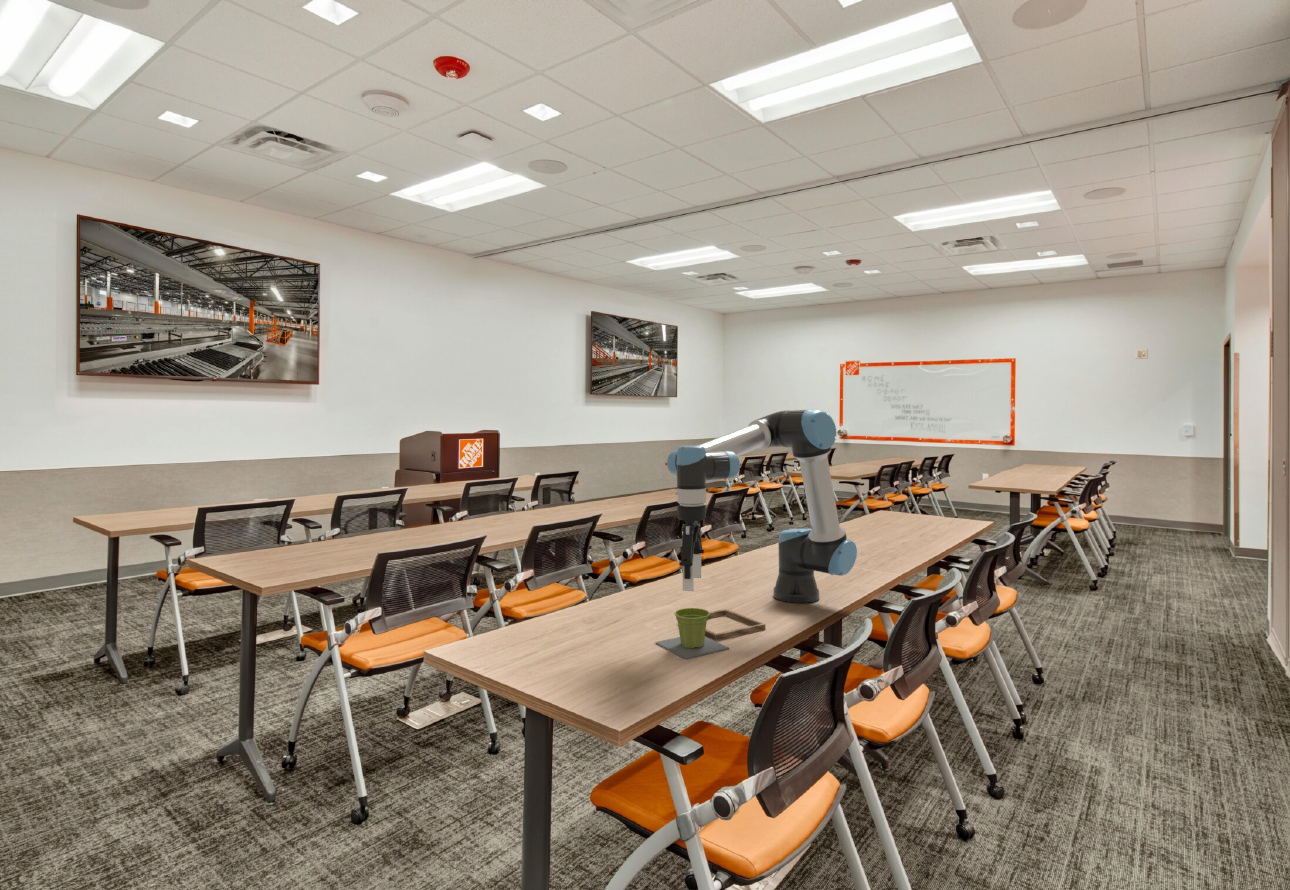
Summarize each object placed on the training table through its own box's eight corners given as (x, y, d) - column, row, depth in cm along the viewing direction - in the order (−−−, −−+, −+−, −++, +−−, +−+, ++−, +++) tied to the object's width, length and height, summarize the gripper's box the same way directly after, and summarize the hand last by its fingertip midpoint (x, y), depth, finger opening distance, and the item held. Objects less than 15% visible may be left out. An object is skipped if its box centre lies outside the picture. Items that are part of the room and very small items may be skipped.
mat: (697, 634, 183) (697, 632, 183) (729, 649, 171) (729, 647, 171) (655, 643, 175) (655, 642, 175) (685, 659, 163) (685, 658, 163)
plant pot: (668, 647, 171) (668, 614, 171) (683, 636, 179) (683, 605, 179) (701, 653, 167) (701, 619, 166) (715, 642, 175) (715, 610, 175)
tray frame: (725, 613, 202) (725, 608, 202) (765, 629, 187) (765, 624, 187) (678, 623, 193) (678, 618, 192) (715, 640, 177) (715, 635, 177)
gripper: (685, 498, 185) (686, 572, 186) (668, 510, 160) (669, 595, 161) (711, 498, 183) (712, 573, 184) (698, 511, 159) (699, 597, 160)
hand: (692, 584), depth 173 cm, fingers open, 13 cm apart
